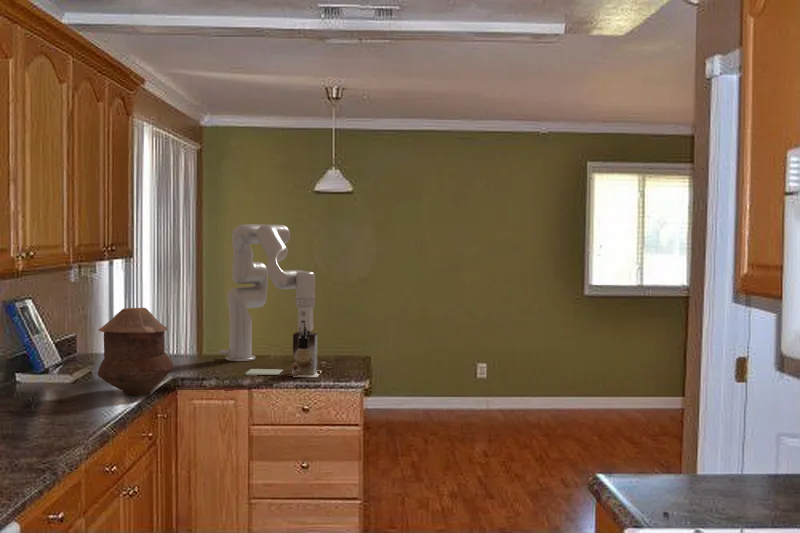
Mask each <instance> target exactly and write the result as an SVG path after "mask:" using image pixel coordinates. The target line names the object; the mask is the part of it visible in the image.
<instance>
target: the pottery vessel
mask: <svg viewBox="0 0 800 533" xmlns="http://www.w3.org/2000/svg"><path fill="white" fill-rule="evenodd" d="M168 330H169V327H167V326H165V325H164V324H162V323H161V322H160V321H159V320H158V319H156V317H155V316H154V315H153V314H152V313H151V312H150V311H149V310H148V309H147V308H146V307H126V308H122V309H121V310H120V311H119V312H118V313H116V314H115V315H114V316H113V317H112V318H111V319H110V320H109V321H107V322H106V323H105V324H104V325H103V326H101V327H100V328H99V329H98V331H99V332H102V333H103V360H102V361H101V363H100V364H99V367H98V371H97V376H98V377H99V378H100V379H102V380H103V381H104V382H105V383H107V384H109V385H110V386H112V387H114V388H116V389H117V390H120V391H122V393H123V394H125V395H131V396H143V394H145V395H147V394H146V393H149V392H151V391H152V392H153V390H154V388H156V387H157V386H158V385H159V384H160V383H161V382H162V380H164V379H165V378H166V377H167V376H168V375H169V374H170V373H171V372H172V371H173V369H174V367H175V365H174V363H173V361H172V359H171V358H170V357H169V356H168V355H167V353H166V349H165V347H166V346H165V345H166V344H165V343H166V342H165V340H166V339H165V332H166V331H168ZM152 392H151V393H152ZM149 394H150V393H149Z"/></svg>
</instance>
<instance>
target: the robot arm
mask: <svg viewBox="0 0 800 533" xmlns="http://www.w3.org/2000/svg"><path fill="white" fill-rule="evenodd" d="M290 239H291V231H290V230H289V228H288V227H287V226H286V225H284V224H257V223H256V224H252V223H249V224H248V223H247V224H246V223H244V224H240V225H237V226H236V227H234V229H233V231H232V234H231V243H232V244H231V245H232V249H233V253H232V254H233V256H232V269H231V270H232V273H231V275H232V276H231V278H232V281H233V282H234V283H235V284H237V285H238V284H239V285H252V286H237V287H233V288H231V289H229V291H228V292H227V299H226V300H227V305H228V312H229V348H228V349H220V350H219V354H220V355H226V356H225V359H226V361H229V362H230V361H231V362H249V361H254V360H256V355H252V354H253V348H252V347H253V339H252V338H253V322H252V321H253V320H252V316H251V314H250V311H249V310H248V309H257V308H263V307H264V306H265V304H266V302H267V298H268V286H269V285H268V283H269V279H270V281H271V283H272V284H273V285H274V286H275V287H276V288H277V289H279V290H291V289H292V290H294V289H295V307H298V310H297V311H298V312H297V314H298V315H297V328H298V330H297V332H300V338H299V348H300V349H307V348H308V338H307V333H311V332H312V331H313V330H314V307H315V306H316V294H315V293H316V275H315V273H314V272H313V271H305V270H301V269H287V270H286V269H285V270H284V269H283V270H282V269H281V267H280V266H279V263H280V262H282V261H284V260H285V259H286V257H287V256H288V253H289V250H288V248H287V246H286V244H288V243H289V242H290ZM251 245H260V246H261V248H262V249H263V250H264V252H265V254H266V255H267V257H268V261H267V264H265V263H264V262H261V261H254V251H253V248H252V246H251Z"/></svg>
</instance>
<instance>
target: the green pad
mask: <svg viewBox="0 0 800 533" xmlns="http://www.w3.org/2000/svg"><path fill="white" fill-rule="evenodd" d="M282 371H284V369H280V368H279V369H277V368H276V369H274V368H272V369H271V368H268V369H267V368H250V369H249V370H247V371H246V372H245V376H257V375H279V374H280V373H281V372H282ZM282 373H283V372H282ZM282 373H281V374H282ZM281 374H280V375H281ZM280 375H279V376H280Z"/></svg>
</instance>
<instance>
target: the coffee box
mask: <svg viewBox="0 0 800 533" xmlns="http://www.w3.org/2000/svg"><path fill="white" fill-rule="evenodd" d="M318 334H319V333H318V332H310V333H307V338H308V348H307V349H300V348H299V338H300V332H299V331H296V332H294V333H293V334H292V370H293V371H292V370H291V371H292V374H304V375H314V374H315V373H317V371H318V339H319V338H318V337H319V336H318Z"/></svg>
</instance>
